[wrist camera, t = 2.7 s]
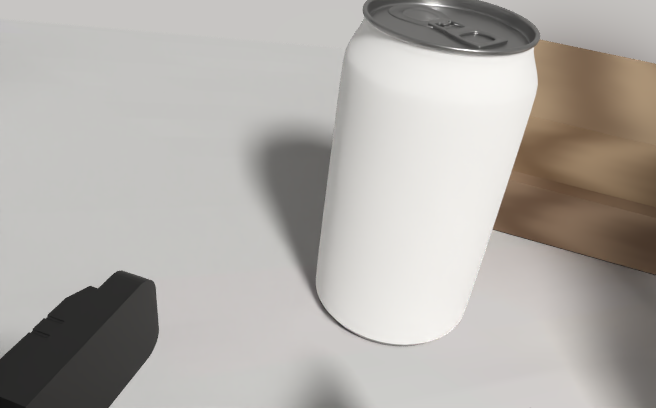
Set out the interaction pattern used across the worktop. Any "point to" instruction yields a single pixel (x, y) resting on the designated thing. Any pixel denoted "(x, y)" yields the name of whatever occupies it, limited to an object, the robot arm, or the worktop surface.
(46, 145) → the worktop surface
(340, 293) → the can
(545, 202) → the tower base
